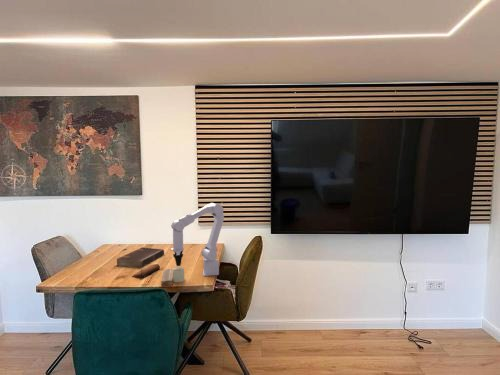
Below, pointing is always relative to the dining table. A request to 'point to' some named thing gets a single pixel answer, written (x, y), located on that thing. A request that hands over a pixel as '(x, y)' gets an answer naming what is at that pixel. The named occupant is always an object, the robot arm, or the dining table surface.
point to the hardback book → (140, 257)
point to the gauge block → (178, 274)
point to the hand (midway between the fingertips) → (178, 263)
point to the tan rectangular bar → (167, 277)
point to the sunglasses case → (146, 271)
